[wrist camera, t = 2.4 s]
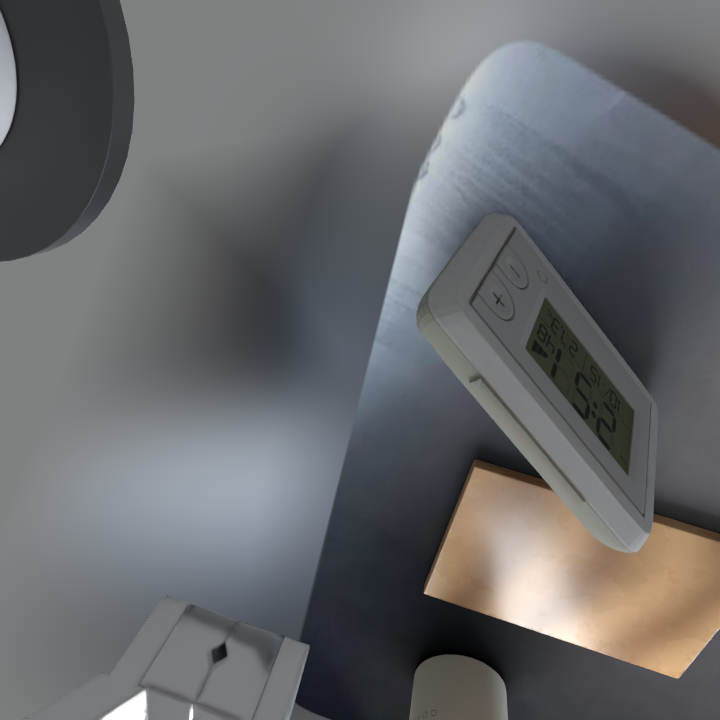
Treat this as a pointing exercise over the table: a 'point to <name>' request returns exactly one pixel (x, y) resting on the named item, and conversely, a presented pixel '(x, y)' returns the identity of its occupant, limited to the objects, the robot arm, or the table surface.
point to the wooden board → (578, 573)
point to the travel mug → (457, 690)
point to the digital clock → (547, 378)
